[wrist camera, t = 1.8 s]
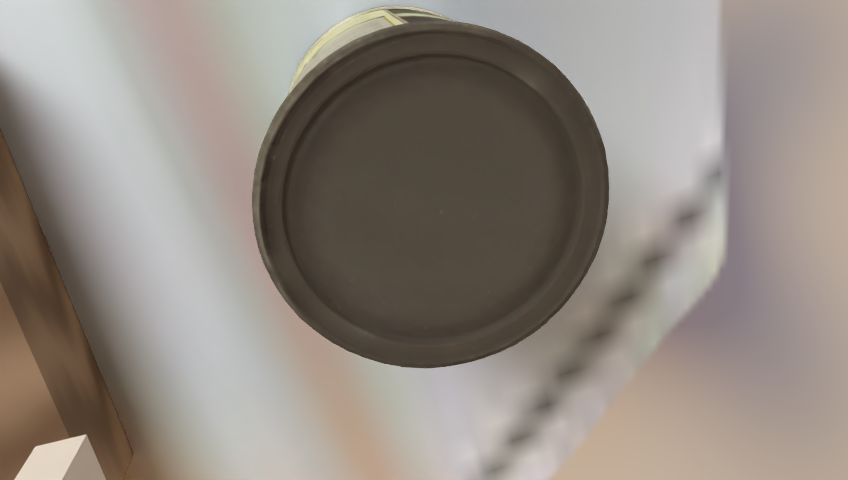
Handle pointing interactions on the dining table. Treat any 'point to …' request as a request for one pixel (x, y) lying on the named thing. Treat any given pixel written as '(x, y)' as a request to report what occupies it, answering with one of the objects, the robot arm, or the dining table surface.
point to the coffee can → (428, 189)
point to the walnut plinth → (45, 348)
